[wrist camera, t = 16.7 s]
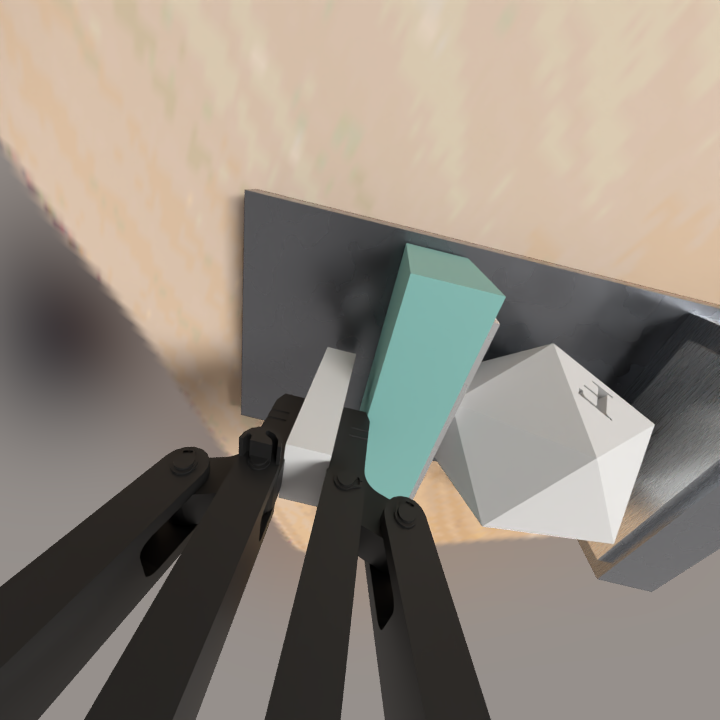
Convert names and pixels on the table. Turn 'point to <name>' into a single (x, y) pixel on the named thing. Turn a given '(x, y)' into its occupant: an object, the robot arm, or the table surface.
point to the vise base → (515, 334)
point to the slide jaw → (424, 363)
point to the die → (544, 447)
